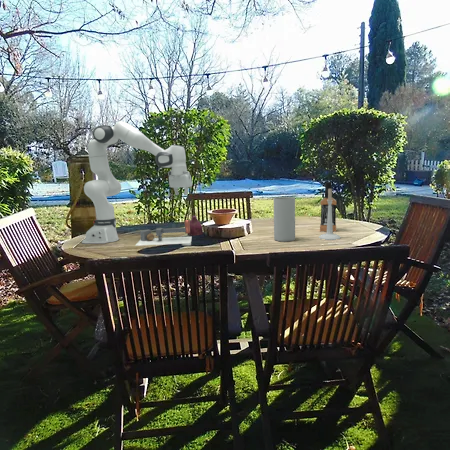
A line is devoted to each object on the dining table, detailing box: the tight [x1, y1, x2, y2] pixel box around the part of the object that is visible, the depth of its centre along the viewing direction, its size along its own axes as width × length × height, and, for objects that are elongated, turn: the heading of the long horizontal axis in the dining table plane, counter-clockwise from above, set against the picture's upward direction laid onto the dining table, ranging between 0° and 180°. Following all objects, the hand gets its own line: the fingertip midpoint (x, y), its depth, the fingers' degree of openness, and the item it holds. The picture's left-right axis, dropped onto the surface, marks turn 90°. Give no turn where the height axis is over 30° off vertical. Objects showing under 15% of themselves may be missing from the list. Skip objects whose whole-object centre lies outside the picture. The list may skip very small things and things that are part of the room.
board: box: [135, 229, 193, 247], centre depth 238 cm, size 32×21×7 cm, turn 93°
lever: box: [155, 219, 191, 237], centre depth 238 cm, size 20×7×8 cm, turn 93°
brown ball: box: [147, 232, 155, 241], centre depth 240 cm, size 4×4×4 cm
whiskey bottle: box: [319, 181, 337, 232], centre depth 258 cm, size 10×10×32 cm
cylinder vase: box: [273, 196, 296, 243], centre depth 234 cm, size 12×12×25 cm
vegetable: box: [187, 214, 204, 236], centre depth 262 cm, size 10×10×15 cm
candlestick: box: [318, 188, 342, 241], centre depth 234 cm, size 13×13×30 cm
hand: (181, 194), depth 239 cm, fingers open, 8 cm apart
